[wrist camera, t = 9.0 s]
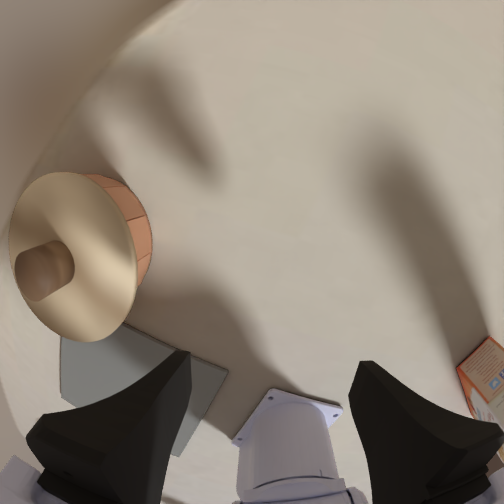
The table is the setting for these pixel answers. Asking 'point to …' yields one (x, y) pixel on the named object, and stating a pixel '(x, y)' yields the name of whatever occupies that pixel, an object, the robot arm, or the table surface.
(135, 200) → the bowl
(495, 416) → the cracker box
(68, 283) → the lid
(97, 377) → the mat
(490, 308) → the table surface
